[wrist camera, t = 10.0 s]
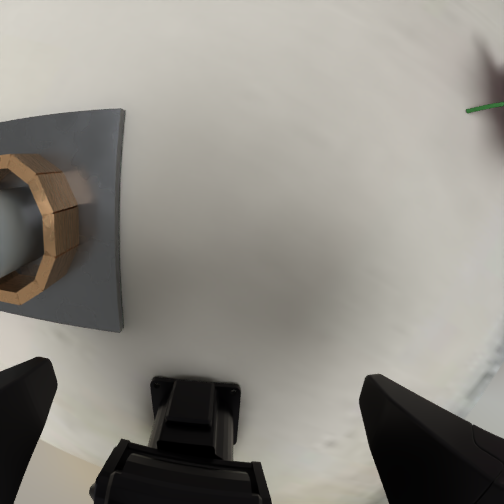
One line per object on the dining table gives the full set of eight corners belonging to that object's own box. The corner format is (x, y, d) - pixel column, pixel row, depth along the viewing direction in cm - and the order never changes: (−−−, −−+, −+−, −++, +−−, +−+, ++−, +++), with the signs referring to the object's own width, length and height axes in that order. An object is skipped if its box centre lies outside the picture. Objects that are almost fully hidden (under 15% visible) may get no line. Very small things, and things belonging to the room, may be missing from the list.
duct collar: (123, 327, 20) (104, 356, 17) (-18, 301, 19) (-45, 319, 16) (125, 110, 17) (100, 99, 13) (-28, 130, 16) (-60, 129, 12)
